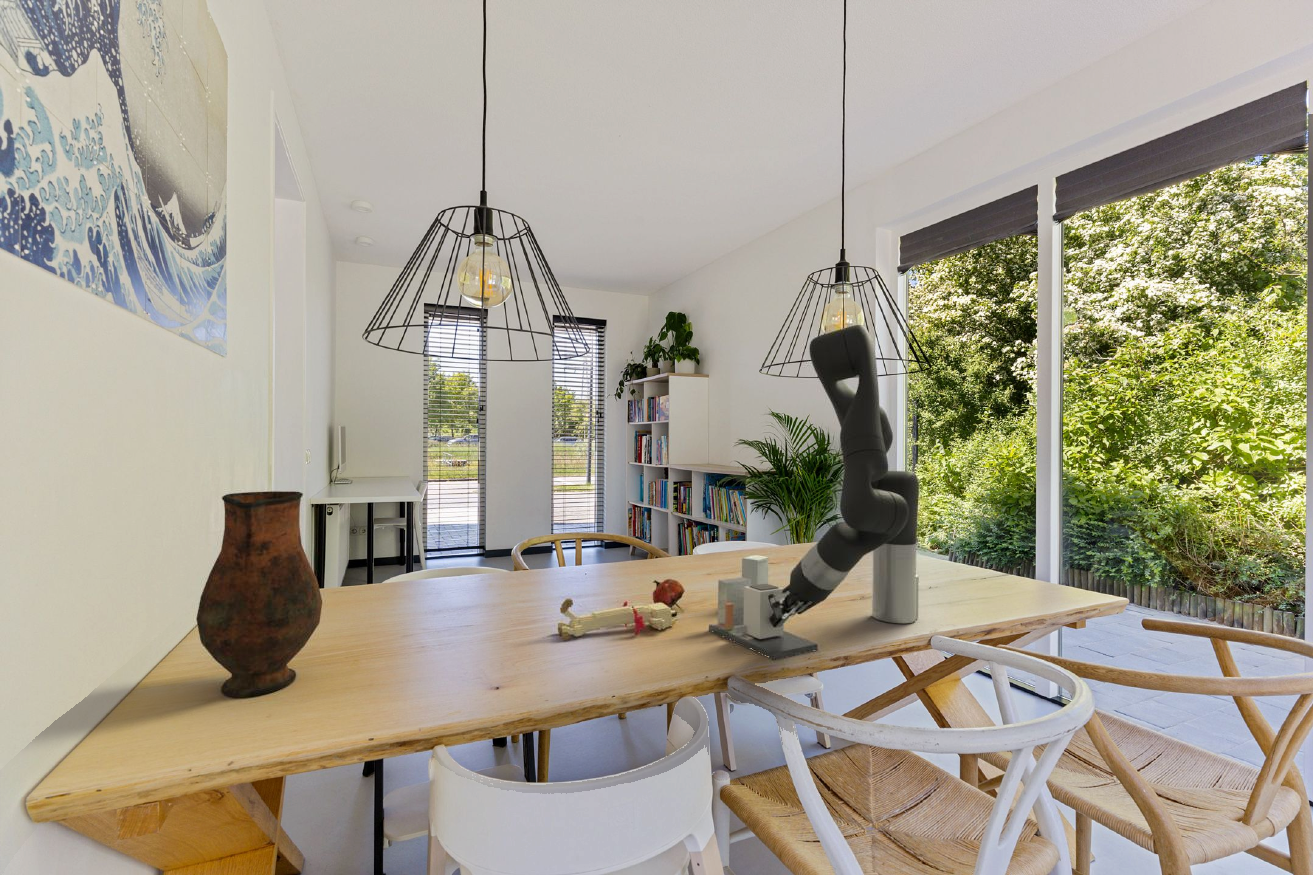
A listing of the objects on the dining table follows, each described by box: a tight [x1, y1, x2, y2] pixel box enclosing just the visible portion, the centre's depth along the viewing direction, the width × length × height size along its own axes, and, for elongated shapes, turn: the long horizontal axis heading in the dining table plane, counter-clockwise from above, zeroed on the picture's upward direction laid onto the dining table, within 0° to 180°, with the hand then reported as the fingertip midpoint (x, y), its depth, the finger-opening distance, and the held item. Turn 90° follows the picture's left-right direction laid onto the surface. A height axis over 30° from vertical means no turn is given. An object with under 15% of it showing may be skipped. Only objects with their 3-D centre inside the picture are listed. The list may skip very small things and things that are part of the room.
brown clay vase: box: [196, 490, 323, 699], centre depth 101 cm, size 17×21×30 cm
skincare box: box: [741, 554, 770, 586], centre depth 149 cm, size 6×4×12 cm
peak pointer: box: [725, 603, 734, 630], centre depth 126 cm, size 1×1×5 cm, turn 121°
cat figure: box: [557, 598, 680, 642], centre depth 129 cm, size 10×9×25 cm
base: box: [708, 576, 819, 660], centre depth 124 cm, size 11×20×10 cm, turn 31°
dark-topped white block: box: [733, 583, 785, 639], centre depth 123 cm, size 8×5×9 cm, turn 121°
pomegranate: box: [652, 578, 685, 613], centre depth 146 cm, size 7×7×10 cm
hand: (774, 623), depth 121 cm, fingers closed
